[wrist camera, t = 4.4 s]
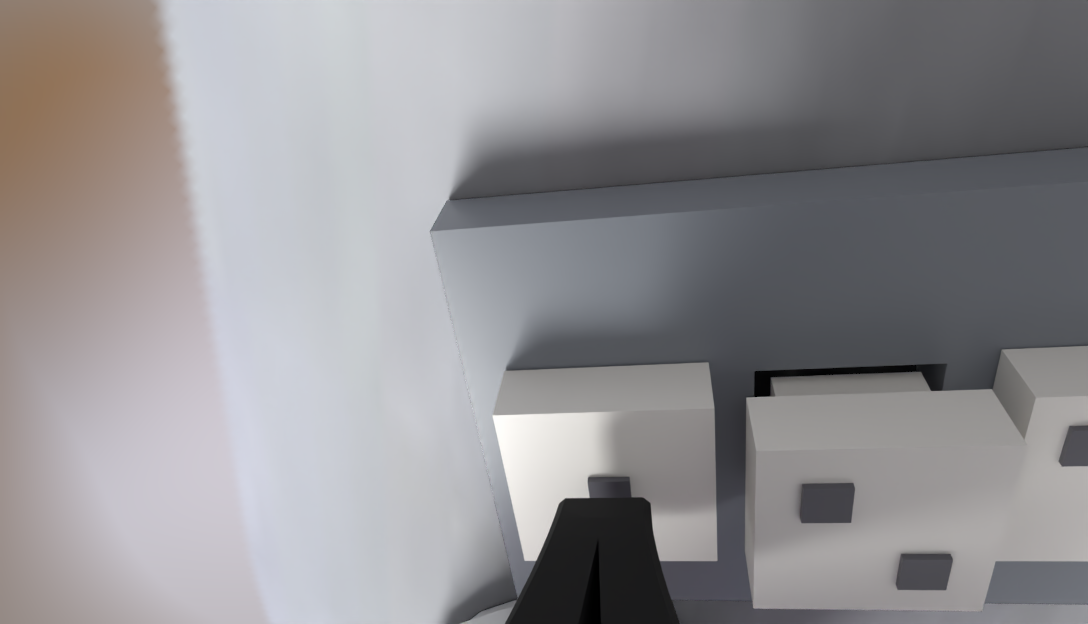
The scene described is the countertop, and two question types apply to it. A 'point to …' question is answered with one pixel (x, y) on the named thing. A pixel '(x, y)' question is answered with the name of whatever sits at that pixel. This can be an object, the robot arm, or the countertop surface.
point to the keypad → (774, 300)
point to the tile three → (1047, 452)
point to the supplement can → (493, 615)
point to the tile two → (876, 493)
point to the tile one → (613, 448)
